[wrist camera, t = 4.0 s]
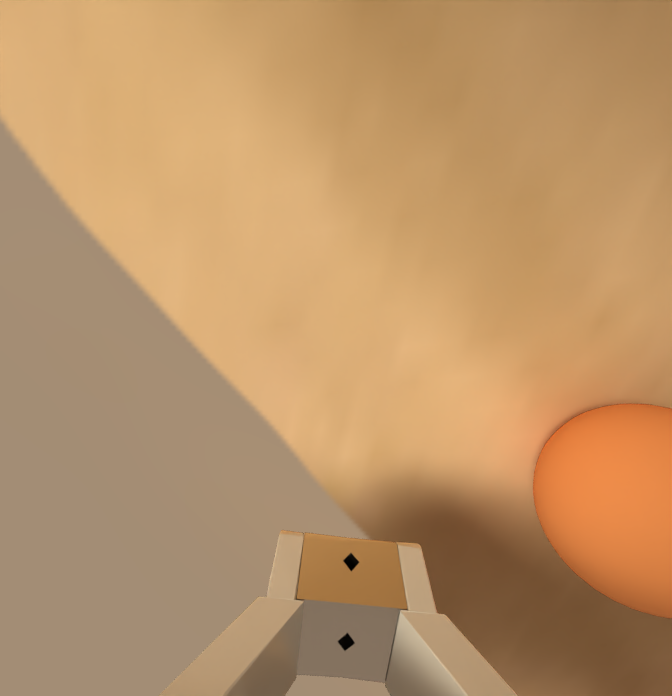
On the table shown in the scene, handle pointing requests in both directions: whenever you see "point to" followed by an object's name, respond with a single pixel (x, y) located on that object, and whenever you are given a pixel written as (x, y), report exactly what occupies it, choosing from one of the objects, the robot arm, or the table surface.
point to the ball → (612, 502)
